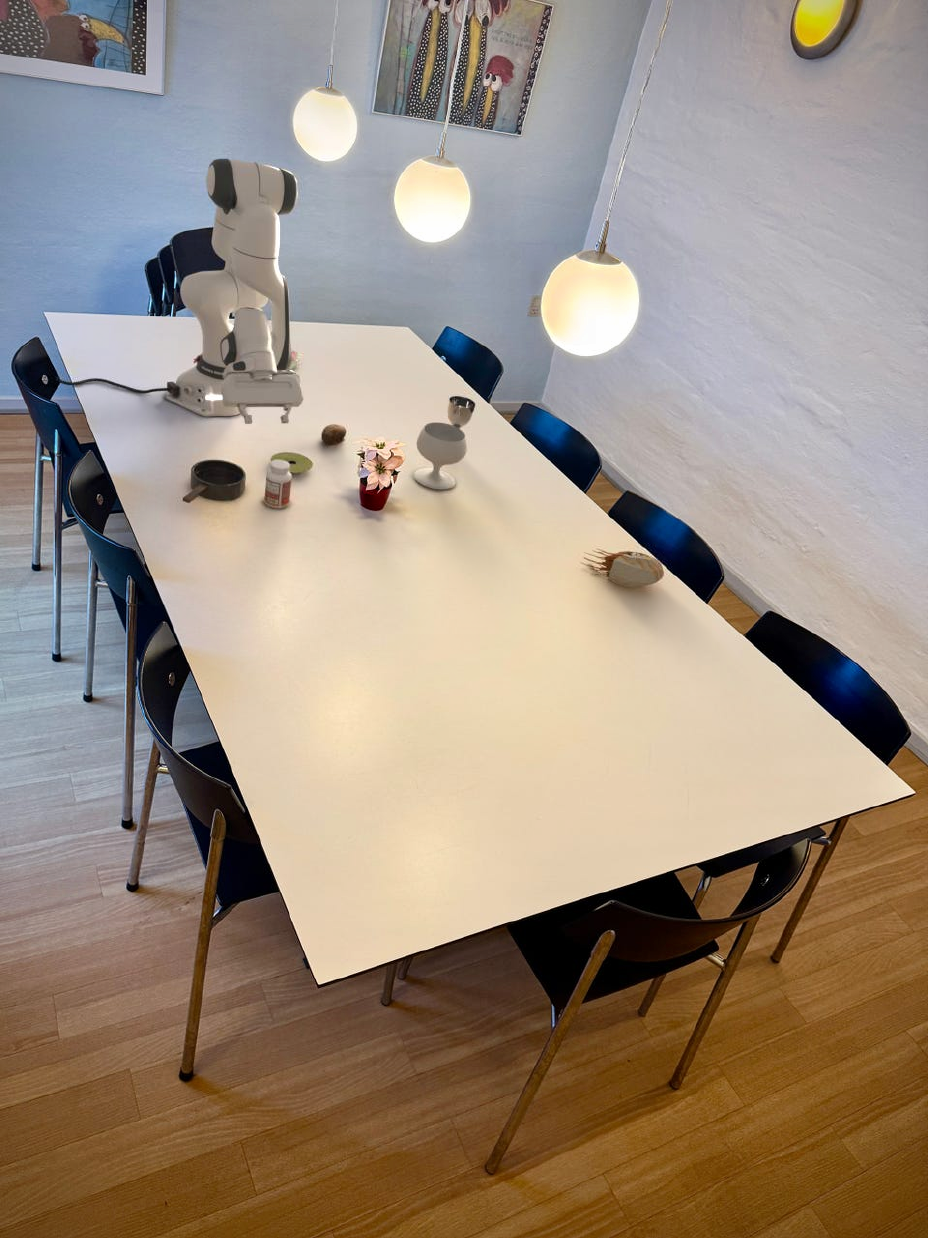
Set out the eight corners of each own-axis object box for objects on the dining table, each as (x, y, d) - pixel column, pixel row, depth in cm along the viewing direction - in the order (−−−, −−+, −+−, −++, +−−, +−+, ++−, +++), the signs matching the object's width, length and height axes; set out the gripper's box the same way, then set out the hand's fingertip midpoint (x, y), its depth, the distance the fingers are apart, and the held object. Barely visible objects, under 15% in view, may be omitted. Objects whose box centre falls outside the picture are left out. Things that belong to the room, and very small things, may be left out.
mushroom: (355, 432, 258) (345, 416, 253) (348, 452, 253) (337, 436, 249) (331, 436, 261) (321, 420, 256) (324, 456, 257) (313, 440, 252)
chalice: (403, 467, 254) (412, 419, 245) (448, 467, 260) (458, 421, 251) (419, 492, 244) (429, 443, 235) (465, 492, 250) (477, 444, 241)
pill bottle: (285, 496, 227) (289, 457, 221) (291, 508, 223) (296, 469, 216) (261, 496, 224) (264, 457, 218) (267, 509, 220) (271, 470, 214)
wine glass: (469, 448, 273) (479, 403, 265) (457, 456, 267) (468, 410, 259) (446, 438, 275) (456, 393, 267) (435, 446, 269) (444, 400, 261)
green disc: (277, 479, 233) (277, 472, 232) (264, 458, 241) (265, 452, 239) (317, 477, 238) (318, 471, 237) (304, 457, 246) (305, 451, 245)
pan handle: (182, 501, 209) (182, 497, 209) (202, 486, 216) (202, 482, 216) (189, 503, 209) (189, 500, 208) (208, 488, 216) (208, 485, 216)
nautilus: (573, 578, 226) (584, 554, 238) (655, 603, 222) (662, 577, 235) (580, 551, 222) (591, 528, 234) (664, 576, 218) (670, 551, 231)
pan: (180, 490, 219) (180, 474, 216) (207, 470, 229) (208, 454, 227) (228, 507, 217) (229, 491, 215) (253, 486, 228) (255, 470, 225)
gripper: (294, 375, 231) (303, 426, 230) (216, 374, 221) (224, 427, 221) (302, 366, 226) (310, 418, 225) (221, 364, 216) (230, 419, 215)
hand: (267, 423), depth 223 cm, fingers open, 8 cm apart
